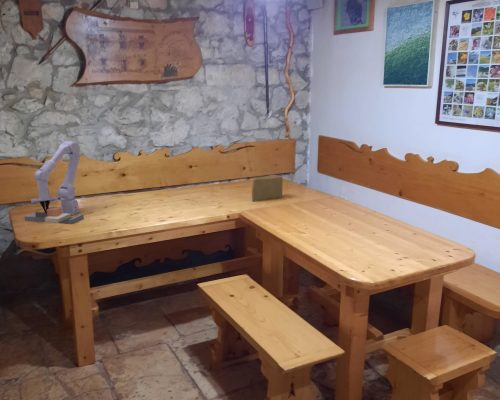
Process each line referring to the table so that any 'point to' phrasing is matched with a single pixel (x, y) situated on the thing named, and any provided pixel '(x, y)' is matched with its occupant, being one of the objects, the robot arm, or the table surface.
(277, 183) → the olive upright slab
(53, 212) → the block
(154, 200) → the table surface
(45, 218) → the tunnel deck
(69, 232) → the table surface
